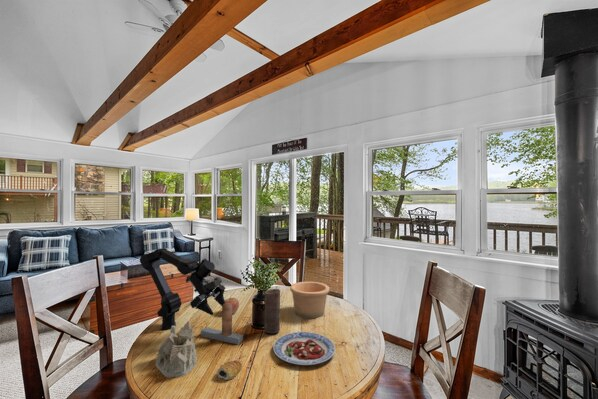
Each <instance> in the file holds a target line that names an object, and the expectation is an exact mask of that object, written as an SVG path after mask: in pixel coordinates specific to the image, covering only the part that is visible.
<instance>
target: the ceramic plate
mask: <svg viewBox="0 0 598 399" xmlns="http://www.w3.org/2000/svg"><path fill="white" fill-rule="evenodd" d="M272 348H273V352H274V353H275V355H276V356H277V357H278V358H279V359H281V360H282V361H285V362H287V363H289V364H293V365H294V364H295V365H300V366H313V365H318V364H321V363H322V364H323V363H325V362H327V361H328V360H330V359H332V357H333V356H334V355H335V352H336V346H335V343H334V342H333V341H332V340H331V339H330V338H329V337H326V336H325V335H322V334H320V333H316V332H311V331H296V332H290V333H287V334H283V335H282V336H280V337H279V338H277V339H276V341H275V342H274V343H273V347H272Z"/></svg>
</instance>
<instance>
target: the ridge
mask: <svg viewBox="0 0 598 399" xmlns="http://www.w3.org/2000/svg"><path fill="white" fill-rule="evenodd" d="M200 337H203V338H208V339H212V340H216V341H220V342H225V343H230V344H233V345H240V344H241V343H242V342H243V340H244V335H243V334H240V333H234V332H232V334H231V335H230V336H222V329H215V328H213V327H212V328H211V327H204V328H203V329H201V330H200Z"/></svg>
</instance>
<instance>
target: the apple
mask: <svg viewBox="0 0 598 399" xmlns="http://www.w3.org/2000/svg"><path fill="white" fill-rule="evenodd" d="M224 300H225V303H231V304H232V315H233V314H235V313H237V312H238V310H239V307H240V302H239V299H237V298H236V297H228V298H226V299H224Z"/></svg>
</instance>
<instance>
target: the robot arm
mask: <svg viewBox="0 0 598 399" xmlns="http://www.w3.org/2000/svg"><path fill="white" fill-rule="evenodd" d="M161 260H163V261H164V262H166V263H169V264H171V265H172V266H174V267H175V268H176V269H177V272H179V273H180V274H181V275H183V276H186V275H187V276H186V280H185V283H189V282H190V283H191V284H192V286H193V288H195V289H194V290H193V291H194V292H195V293H197V294H198V295H196V296H195V297H194V298H193V299H192V300H191V301H190V302H189V303H190V306H191V308H192V309H196V310H200V311H202V312H204V313H206V314H208V315H210V316H213V315H214V312H213V310H212V308H211V306H210V305H209V303H208V299H209V298H212V297H213V300H215V301H216V302H217V303H218V304H219V305H220V306H221V307H222V305H223V304H225V300H226V299H225V297H224V292H225V291H226V287H225V285H223V284H221V283H223V282H222V279H221V278H220V277H219V276H217V277H214V278H213V280H212V281H210V280H206V279H205V278H207V277H208V276H209V275H211V273H212V272H213V271H214V270H215V269H216V267H215V264H214V262H212V261H211V260H208V259H207V258H203V259H202V260H201V261H200V262H199V263H198V262H197V261H196V260H194V259H190V258H184V257H181V256H180V255H178V254H176V253H174V252H172V251H169V250H168V249H167V248H165V247H162V248H161V247H160V248H157V249H155V250H153V251H151V252H148V253H144V254H142V255H141V256H140V258H139V263H140V265H141V266H142V268H143V269H145V270H146V271H148V272H149V274H150V277H151V278H152V280H153V283H154V284H155V287H156V289H157V291H158V293H159V295H160V298H161V299H160V306H161V307H160V309H159V310H158V311H157V312H156V314H157V317H160V318H161V321H162V322H161V324H160V331H163V330H171V327H172V326H177V322H176V313H178V312H179V311H180V309H181V307H182V299H181V297H180V294H179V293H178V292H175V293H174V292H173V291H172V289H171V288H170V286H169V284H168V281H167V280H166V277H165V275H164V273H163V271H162V269H161V266H160V265H161ZM189 274H190V275H189Z"/></svg>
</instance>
